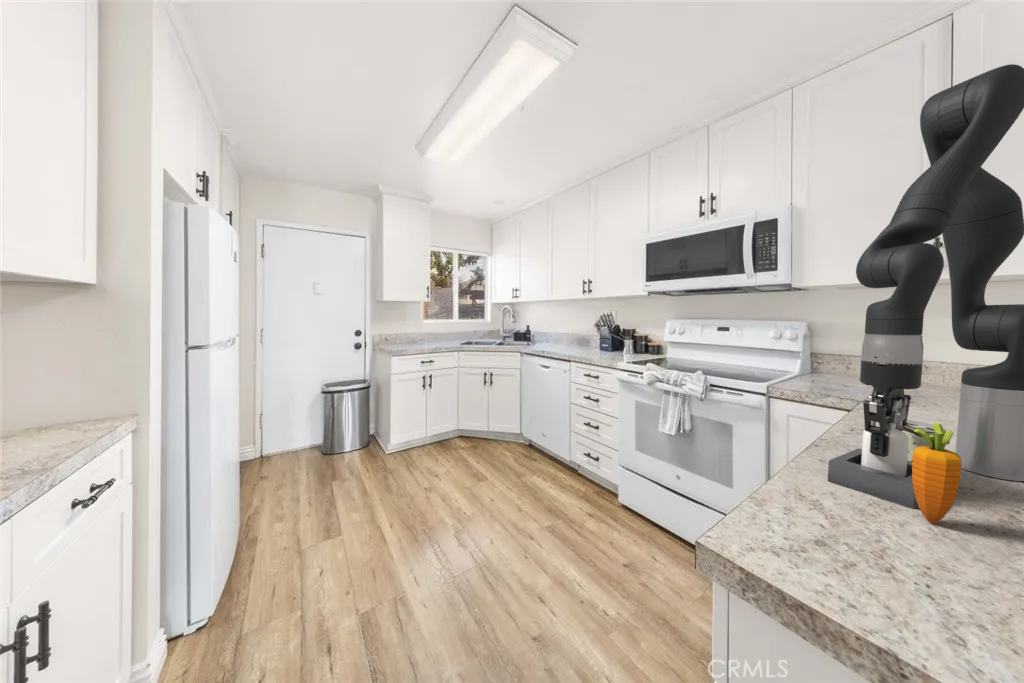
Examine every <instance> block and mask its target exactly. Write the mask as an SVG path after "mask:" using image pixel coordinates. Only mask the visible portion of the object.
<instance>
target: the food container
mask: <svg viewBox="0 0 1024 683" xmlns="http://www.w3.org/2000/svg"><path fill="white" fill-rule="evenodd" d="M876 426H877V425H876ZM915 429H919V430H922V431H923V432H925V433H927V434H928V436H929V435H933V436H935V431H934V428H933V424H931V423H926V422H922V421H917V420H912V419H907V425H906V426H905V427H903V430H902V432H904V433H905V434H906V435H907V436H908V457H907V460H908V461H912V459H913V452H914V450H915V448H917V447H920V446H929V444H928V442H927V441H926V440H925V439H924V438H923V437H922V436H921V435H919V434H917V433H915V432H914V430H915ZM943 430H944V435H945V433H946V431H947V429H945V428H943ZM950 444H951V440H950V441H949V442H948V443H947V445H950ZM947 445H946V446H947Z"/></svg>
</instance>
